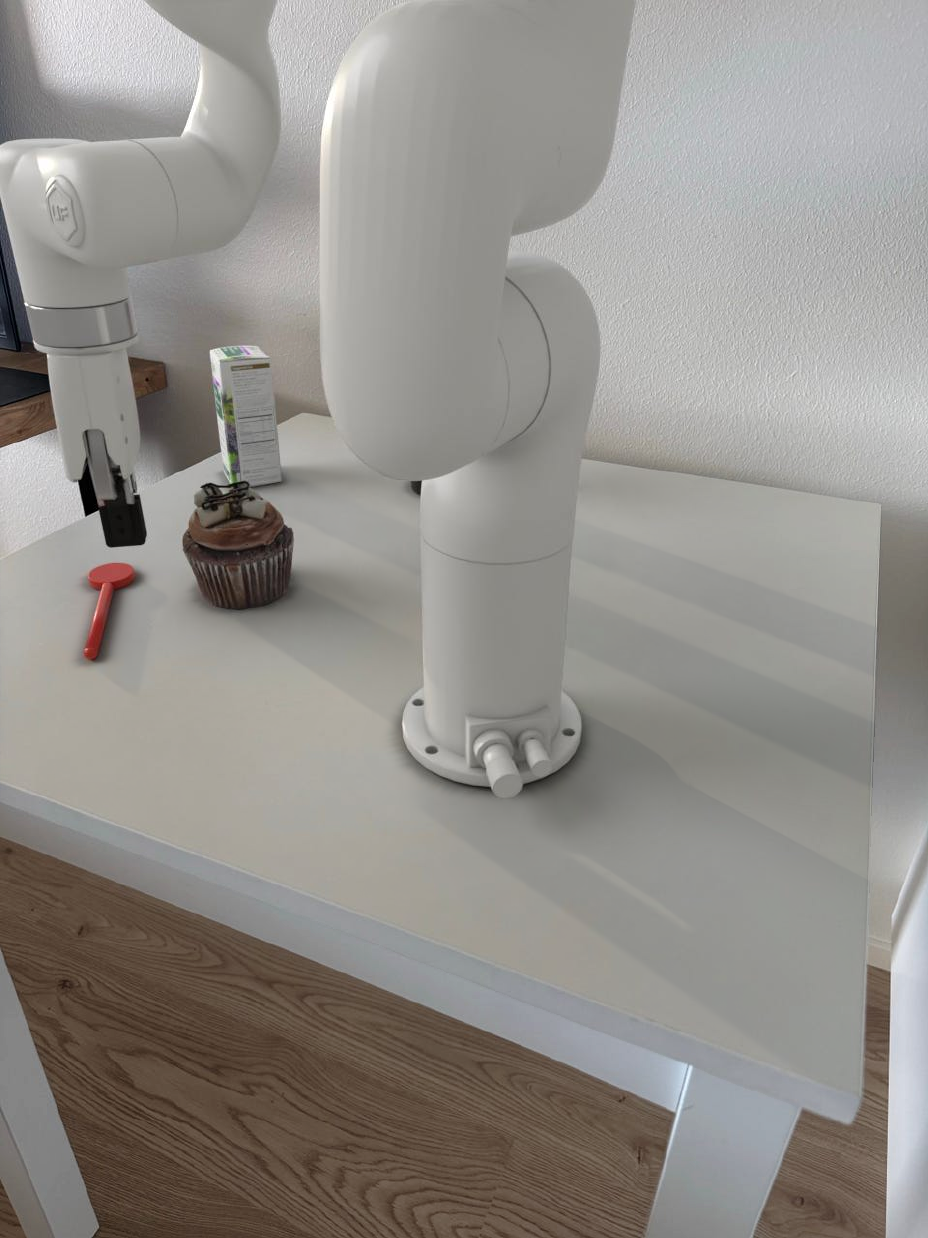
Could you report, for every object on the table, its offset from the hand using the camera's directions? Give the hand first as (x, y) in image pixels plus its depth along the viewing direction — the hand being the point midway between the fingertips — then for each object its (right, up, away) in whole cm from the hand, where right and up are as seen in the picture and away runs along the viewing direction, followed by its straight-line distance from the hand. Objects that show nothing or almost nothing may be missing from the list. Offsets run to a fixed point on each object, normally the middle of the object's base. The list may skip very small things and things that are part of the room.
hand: (127, 541), depth 78 cm
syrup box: (+5, +10, +27) cm, 29 cm away
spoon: (-2, -6, +1) cm, 6 cm away
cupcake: (+9, -4, +4) cm, 11 cm away
